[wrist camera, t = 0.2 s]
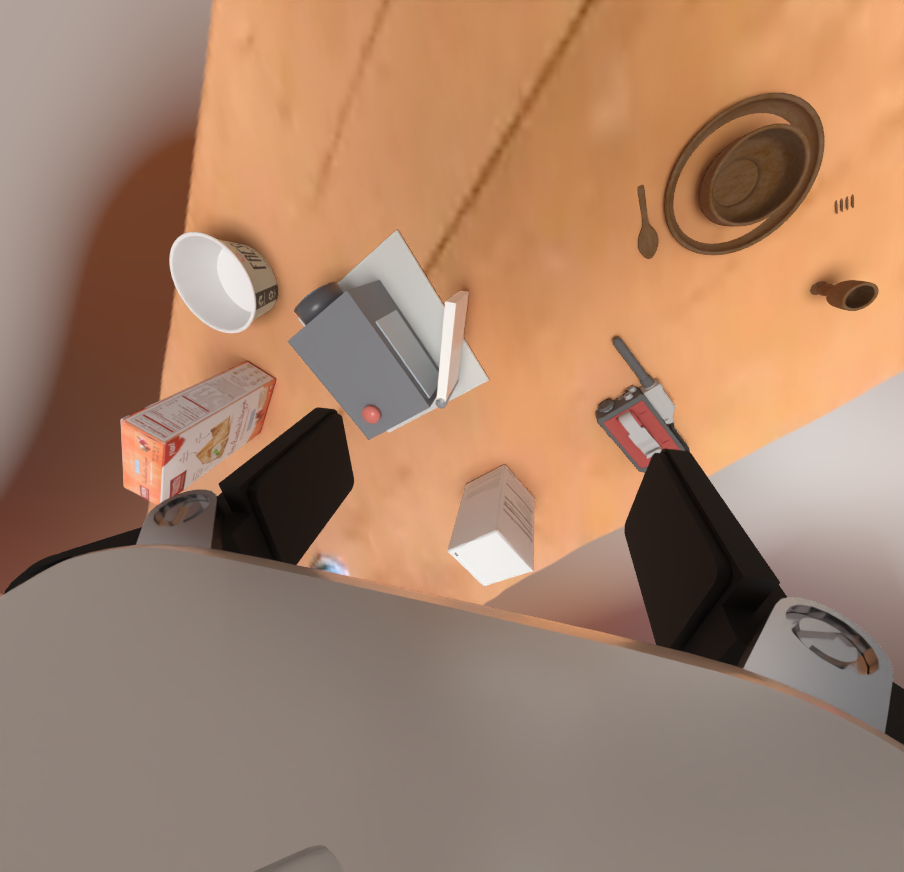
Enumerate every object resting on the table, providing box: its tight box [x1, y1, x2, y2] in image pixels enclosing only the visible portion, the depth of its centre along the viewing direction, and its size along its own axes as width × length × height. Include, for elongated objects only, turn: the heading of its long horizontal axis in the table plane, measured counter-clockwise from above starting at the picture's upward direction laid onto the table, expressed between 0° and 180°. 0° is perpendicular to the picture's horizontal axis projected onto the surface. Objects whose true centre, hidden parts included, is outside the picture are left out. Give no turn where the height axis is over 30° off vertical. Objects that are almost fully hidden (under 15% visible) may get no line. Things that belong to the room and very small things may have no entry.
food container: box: [170, 232, 278, 333], centre depth 45 cm, size 12×12×6 cm
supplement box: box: [448, 465, 534, 586], centre depth 52 cm, size 9×9×15 cm
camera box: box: [288, 230, 489, 440], centre depth 44 cm, size 22×20×10 cm
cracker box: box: [121, 361, 276, 505], centre depth 51 cm, size 14×6×21 cm, turn 148°
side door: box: [436, 290, 469, 408], centre depth 42 cm, size 13×1×8 cm, turn 174°
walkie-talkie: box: [596, 338, 690, 473], centre depth 44 cm, size 9×4×20 cm
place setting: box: [638, 93, 878, 311], centre depth 31 cm, size 18×20×6 cm
